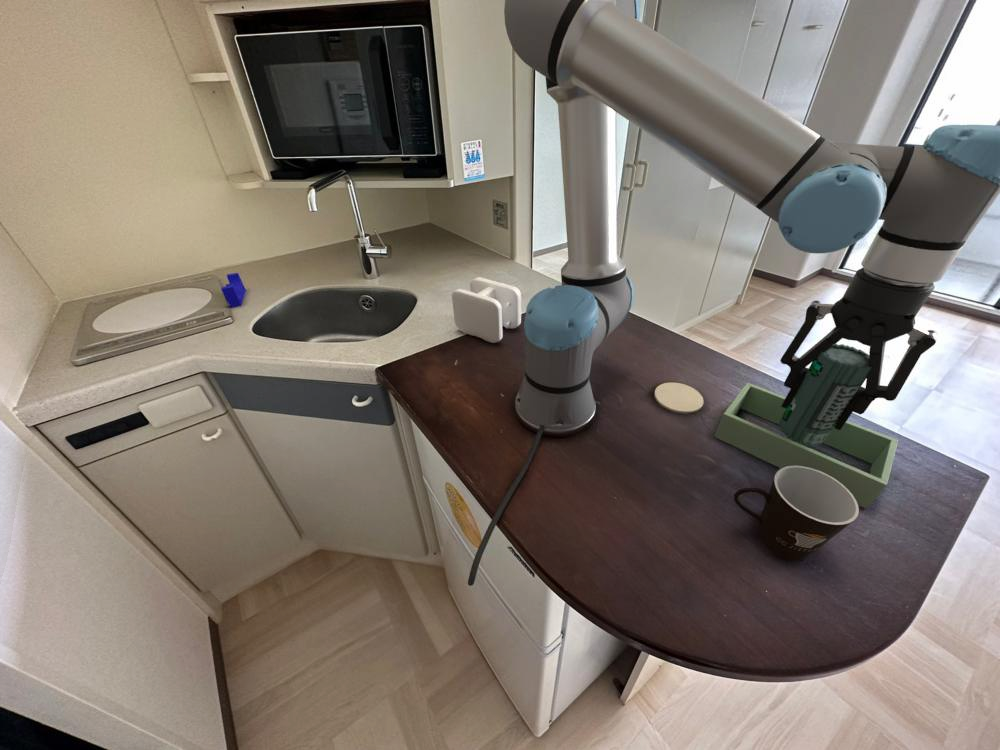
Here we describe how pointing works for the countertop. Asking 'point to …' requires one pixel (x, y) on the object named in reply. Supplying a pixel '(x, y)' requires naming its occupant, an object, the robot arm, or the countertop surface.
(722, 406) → the countertop surface
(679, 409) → the coaster
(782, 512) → the coffee mug
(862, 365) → the can
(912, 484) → the countertop surface
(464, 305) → the cable organizer
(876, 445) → the box
